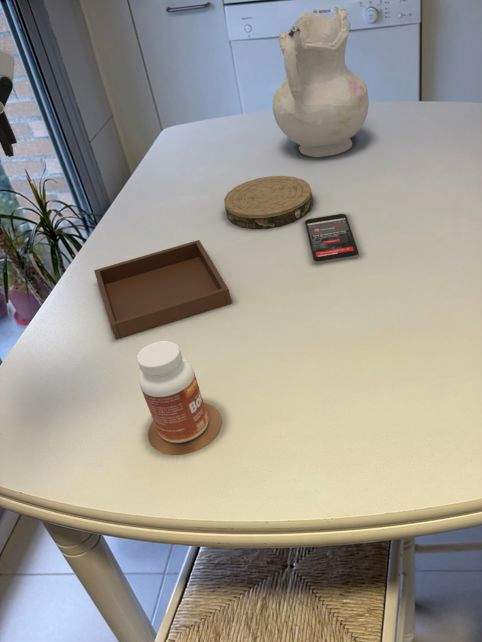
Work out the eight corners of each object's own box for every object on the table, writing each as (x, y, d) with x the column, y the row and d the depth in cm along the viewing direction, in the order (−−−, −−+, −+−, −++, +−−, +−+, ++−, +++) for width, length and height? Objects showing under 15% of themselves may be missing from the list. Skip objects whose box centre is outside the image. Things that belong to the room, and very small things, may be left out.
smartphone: (313, 262, 102) (304, 219, 112) (314, 266, 102) (304, 223, 113) (359, 254, 102) (345, 212, 112) (360, 258, 102) (346, 216, 113)
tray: (116, 342, 93) (110, 325, 91) (100, 285, 105) (93, 270, 103) (232, 305, 97) (228, 288, 95) (203, 255, 109) (199, 239, 107)
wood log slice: (299, 184, 125) (297, 168, 123) (324, 217, 114) (322, 201, 112) (219, 203, 123) (216, 188, 121) (237, 239, 112) (233, 223, 110)
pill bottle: (209, 440, 75) (185, 365, 68) (157, 449, 75) (127, 375, 68) (209, 405, 80) (186, 332, 72) (159, 413, 80) (132, 341, 72)
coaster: (157, 467, 74) (155, 463, 74) (142, 419, 80) (141, 416, 80) (231, 440, 76) (230, 437, 75) (212, 396, 82) (210, 392, 82)
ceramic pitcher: (361, 175, 128) (363, 31, 110) (264, 172, 130) (251, 31, 113) (371, 134, 143) (374, 1, 125) (285, 132, 145) (276, 2, 128)
